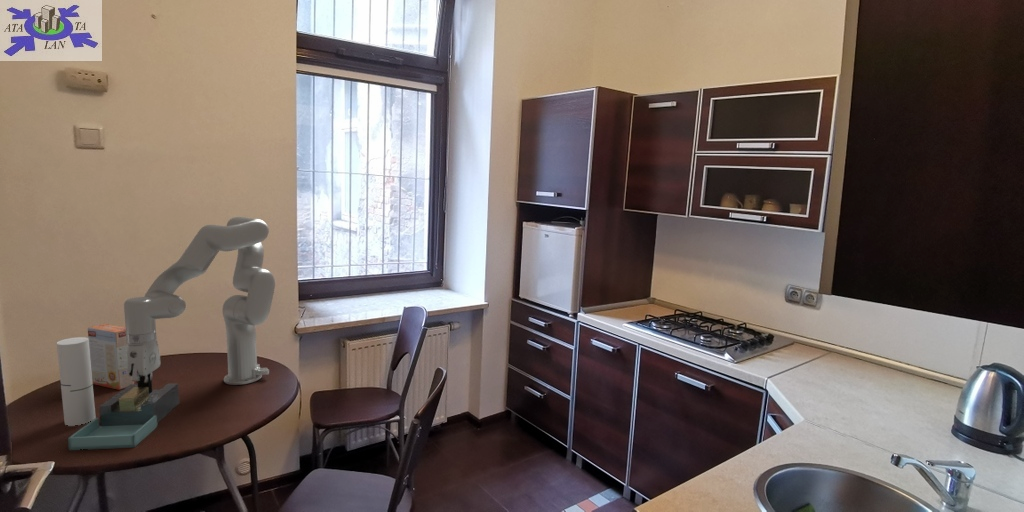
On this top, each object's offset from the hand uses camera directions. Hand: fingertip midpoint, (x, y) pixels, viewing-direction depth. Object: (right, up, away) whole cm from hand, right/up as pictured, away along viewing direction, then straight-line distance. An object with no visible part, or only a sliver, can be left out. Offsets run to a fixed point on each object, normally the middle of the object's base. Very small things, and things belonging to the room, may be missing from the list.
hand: (145, 393), depth 160 cm
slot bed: (0, -6, -2) cm, 7 cm away
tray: (+3, -9, -15) cm, 18 cm away
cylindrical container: (-15, -7, -6) cm, 18 cm away
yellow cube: (+1, -2, -8) cm, 8 cm away
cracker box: (-26, -2, +20) cm, 33 cm away
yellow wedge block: (+1, -2, -4) cm, 4 cm away
